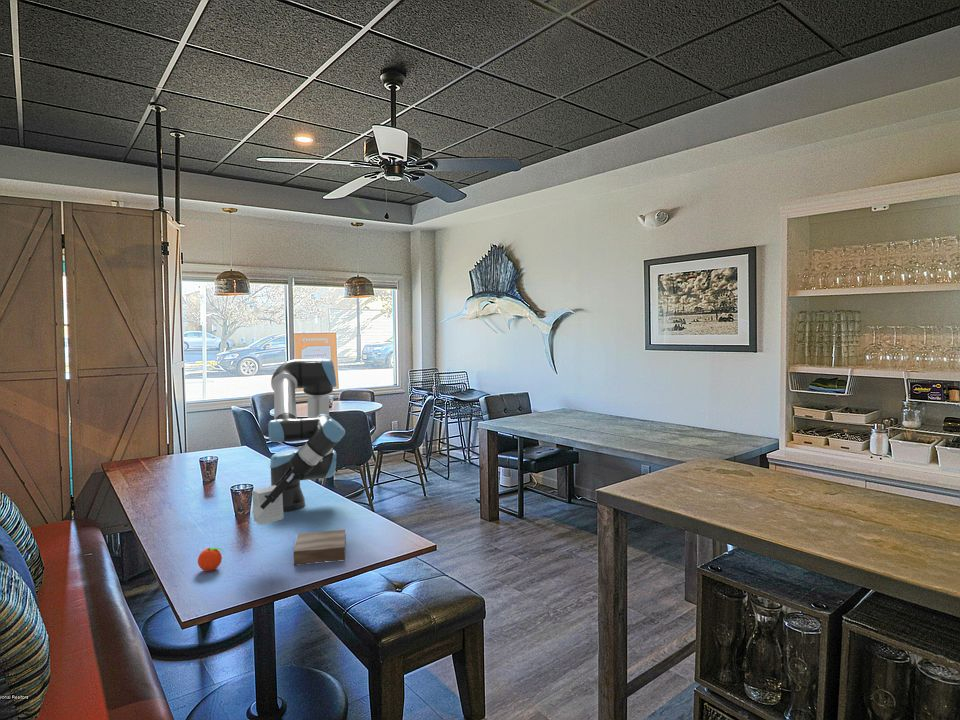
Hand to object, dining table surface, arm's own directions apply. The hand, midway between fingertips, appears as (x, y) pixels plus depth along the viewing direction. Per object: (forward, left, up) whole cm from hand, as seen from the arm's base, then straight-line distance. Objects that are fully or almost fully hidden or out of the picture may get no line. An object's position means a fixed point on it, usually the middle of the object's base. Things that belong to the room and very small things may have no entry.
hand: (257, 509), depth 188 cm
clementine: (+5, -13, -17) cm, 22 cm away
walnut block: (-1, +20, -17) cm, 26 cm away
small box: (0, +3, -4) cm, 5 cm away
